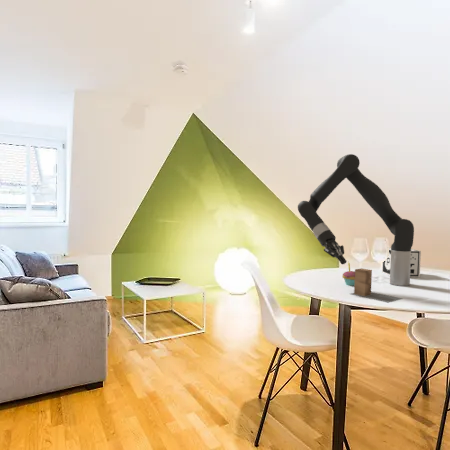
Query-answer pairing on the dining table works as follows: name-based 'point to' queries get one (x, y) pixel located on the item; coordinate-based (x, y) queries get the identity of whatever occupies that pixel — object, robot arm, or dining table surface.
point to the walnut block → (363, 282)
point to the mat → (380, 297)
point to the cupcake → (349, 277)
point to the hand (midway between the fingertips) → (344, 263)
